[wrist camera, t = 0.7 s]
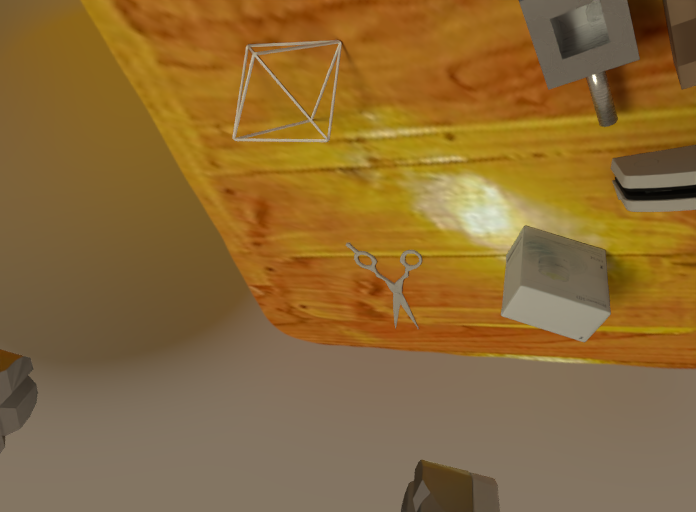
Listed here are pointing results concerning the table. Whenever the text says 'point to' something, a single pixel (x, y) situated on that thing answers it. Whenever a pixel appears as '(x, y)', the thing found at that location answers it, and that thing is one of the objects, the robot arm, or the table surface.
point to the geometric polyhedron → (254, 54)
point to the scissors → (394, 287)
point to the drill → (582, 44)
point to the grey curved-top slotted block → (657, 180)
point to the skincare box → (556, 284)
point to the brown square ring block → (682, 38)
